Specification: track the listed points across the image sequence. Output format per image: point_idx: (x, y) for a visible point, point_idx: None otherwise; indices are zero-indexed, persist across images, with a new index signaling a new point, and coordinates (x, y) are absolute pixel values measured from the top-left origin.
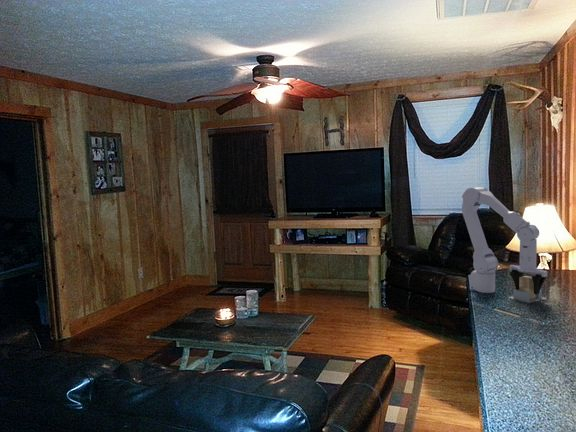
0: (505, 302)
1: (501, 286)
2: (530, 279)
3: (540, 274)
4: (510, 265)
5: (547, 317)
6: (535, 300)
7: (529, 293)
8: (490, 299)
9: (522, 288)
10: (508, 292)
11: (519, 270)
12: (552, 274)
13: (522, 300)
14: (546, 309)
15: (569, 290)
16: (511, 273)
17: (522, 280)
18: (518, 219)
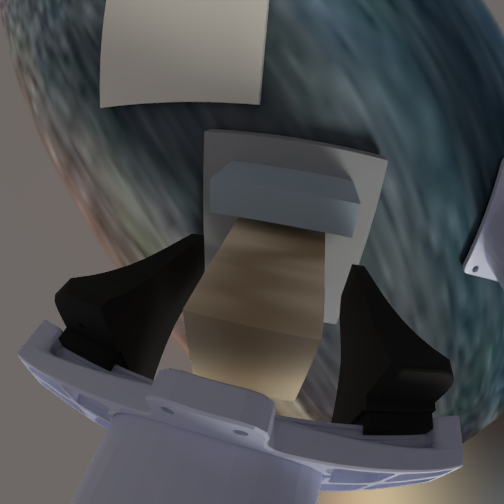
0: (365, 94)
1: (462, 367)
2: (187, 322)
3: (77, 360)
4: (452, 469)
5: (67, 50)
6: (213, 216)
7: (211, 202)
8: (466, 106)
9: (291, 250)
10: (429, 318)
11: (249, 399)
12: None
13: (265, 154)
14: (126, 149)
15: None
16: (431, 364)
17: (280, 305)
18: None
